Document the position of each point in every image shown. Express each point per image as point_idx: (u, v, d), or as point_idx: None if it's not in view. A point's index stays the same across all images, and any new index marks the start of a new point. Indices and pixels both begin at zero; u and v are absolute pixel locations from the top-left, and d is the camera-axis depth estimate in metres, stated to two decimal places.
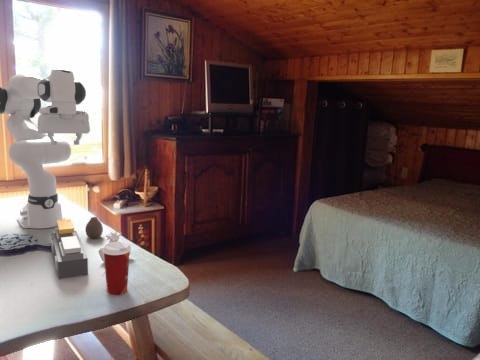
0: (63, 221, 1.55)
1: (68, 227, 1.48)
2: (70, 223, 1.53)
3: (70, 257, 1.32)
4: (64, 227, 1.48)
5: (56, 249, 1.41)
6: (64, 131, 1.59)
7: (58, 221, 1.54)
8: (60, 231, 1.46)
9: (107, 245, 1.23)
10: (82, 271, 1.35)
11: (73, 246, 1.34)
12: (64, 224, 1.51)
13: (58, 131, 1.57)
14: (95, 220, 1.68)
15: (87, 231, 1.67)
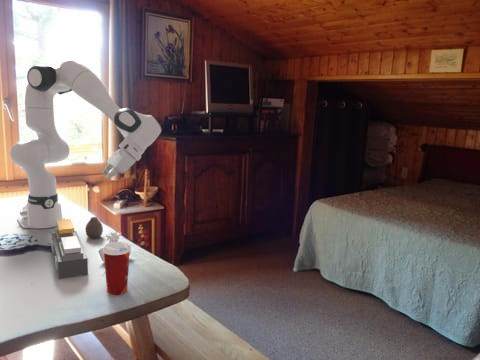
0: (63, 221, 1.55)
1: (68, 227, 1.48)
2: (70, 223, 1.53)
3: (70, 257, 1.32)
4: (64, 227, 1.48)
5: (56, 249, 1.41)
6: None
7: (58, 221, 1.54)
8: (60, 231, 1.46)
9: (107, 245, 1.23)
10: (82, 271, 1.35)
11: (73, 246, 1.34)
12: (64, 224, 1.51)
13: None
14: (95, 220, 1.68)
15: (87, 231, 1.67)
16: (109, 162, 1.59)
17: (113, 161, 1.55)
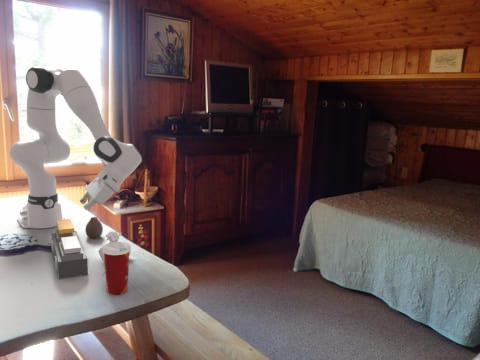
0: (63, 221, 1.55)
1: (68, 227, 1.48)
2: (70, 223, 1.53)
3: (70, 257, 1.32)
4: (64, 227, 1.48)
5: (56, 249, 1.41)
6: None
7: (58, 221, 1.54)
8: (60, 231, 1.46)
9: (107, 245, 1.23)
10: (82, 271, 1.35)
11: (73, 246, 1.34)
12: (64, 224, 1.51)
13: None
14: (95, 220, 1.68)
15: (87, 231, 1.67)
16: (87, 191, 1.57)
17: (91, 191, 1.53)
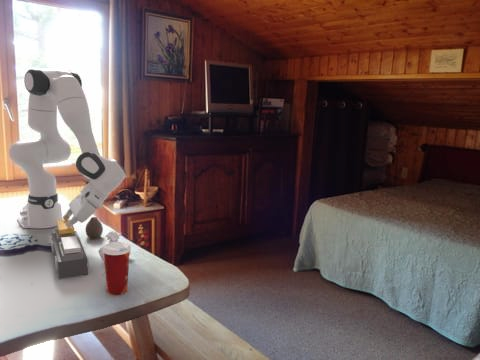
0: (63, 221, 1.55)
1: None
2: None
3: (70, 257, 1.32)
4: (64, 227, 1.48)
5: (56, 249, 1.41)
6: None
7: (58, 221, 1.54)
8: (60, 231, 1.46)
9: (107, 245, 1.23)
10: (82, 271, 1.35)
11: (73, 246, 1.34)
12: (64, 224, 1.51)
13: None
14: (95, 220, 1.68)
15: (87, 231, 1.67)
16: (70, 207, 1.55)
17: (74, 207, 1.51)
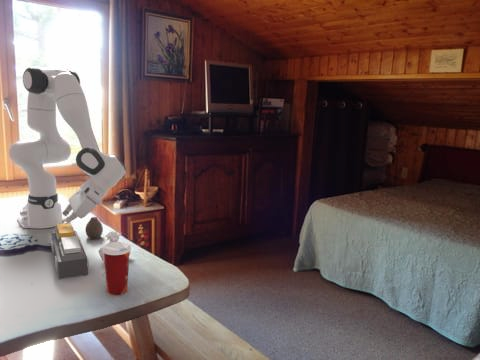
0: (63, 225, 1.55)
1: (68, 231, 1.49)
2: (70, 226, 1.54)
3: (70, 257, 1.32)
4: (64, 231, 1.48)
5: (56, 249, 1.41)
6: None
7: (58, 225, 1.55)
8: (60, 235, 1.46)
9: (107, 245, 1.23)
10: (82, 271, 1.35)
11: (73, 246, 1.34)
12: (65, 228, 1.51)
13: None
14: (95, 220, 1.68)
15: (87, 231, 1.67)
16: (70, 203, 1.54)
17: (73, 203, 1.51)
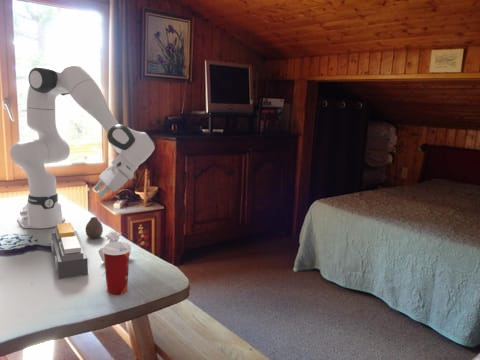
0: (63, 225, 1.55)
1: (68, 231, 1.49)
2: (70, 226, 1.54)
3: (70, 257, 1.32)
4: (64, 231, 1.48)
5: (56, 249, 1.41)
6: None
7: (58, 225, 1.55)
8: (60, 235, 1.46)
9: (107, 245, 1.23)
10: (82, 271, 1.35)
11: (73, 246, 1.34)
12: (65, 228, 1.51)
13: None
14: (95, 220, 1.68)
15: (87, 231, 1.67)
16: (101, 178, 1.58)
17: (105, 178, 1.55)
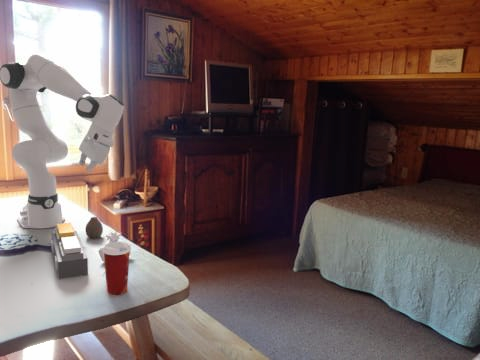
0: (63, 225, 1.55)
1: (68, 231, 1.49)
2: (70, 226, 1.54)
3: (70, 257, 1.32)
4: (64, 231, 1.48)
5: (56, 249, 1.41)
6: None
7: (58, 225, 1.55)
8: (60, 235, 1.46)
9: (107, 245, 1.23)
10: (82, 271, 1.35)
11: (73, 246, 1.34)
12: (65, 228, 1.51)
13: None
14: (95, 220, 1.68)
15: (87, 231, 1.67)
16: (83, 152, 1.57)
17: (87, 152, 1.54)
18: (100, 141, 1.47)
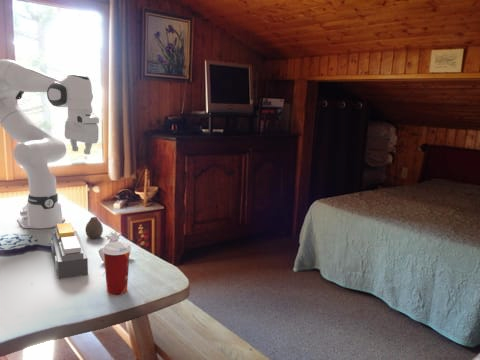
0: (63, 225, 1.55)
1: (68, 231, 1.49)
2: (70, 226, 1.54)
3: (70, 257, 1.32)
4: (64, 231, 1.48)
5: (56, 249, 1.41)
6: None
7: (58, 225, 1.55)
8: (60, 235, 1.46)
9: (107, 245, 1.23)
10: (82, 271, 1.35)
11: (73, 246, 1.34)
12: (65, 228, 1.51)
13: None
14: (95, 220, 1.68)
15: (87, 231, 1.67)
16: (72, 139, 1.58)
17: (77, 137, 1.55)
18: (86, 122, 1.48)
